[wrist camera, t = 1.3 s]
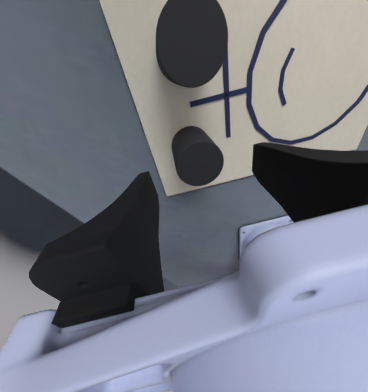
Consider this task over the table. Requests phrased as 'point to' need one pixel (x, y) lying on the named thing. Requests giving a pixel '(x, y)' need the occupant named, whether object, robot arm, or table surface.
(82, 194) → the table surface
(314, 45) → the drawing card
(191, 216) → the table surface
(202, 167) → the black cylinder
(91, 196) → the table surface
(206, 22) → the black cylinder
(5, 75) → the table surface
